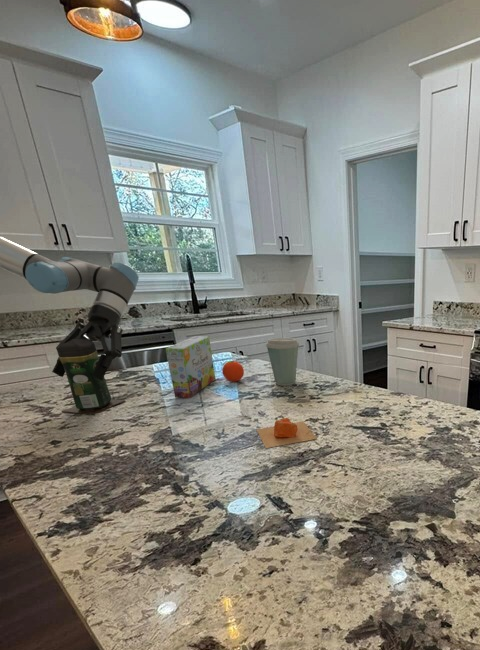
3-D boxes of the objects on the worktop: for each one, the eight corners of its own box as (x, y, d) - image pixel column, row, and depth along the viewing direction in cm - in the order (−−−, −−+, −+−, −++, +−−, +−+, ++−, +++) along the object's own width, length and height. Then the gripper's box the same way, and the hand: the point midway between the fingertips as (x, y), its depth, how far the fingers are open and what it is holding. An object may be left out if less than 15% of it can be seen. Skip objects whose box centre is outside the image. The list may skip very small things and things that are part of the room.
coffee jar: (86, 401, 123) (65, 337, 115) (115, 399, 125) (97, 336, 117) (71, 412, 115) (48, 344, 107) (103, 409, 116) (83, 342, 108)
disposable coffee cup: (274, 378, 146) (269, 335, 139) (305, 378, 145) (301, 335, 139) (266, 387, 136) (260, 341, 130) (299, 387, 136) (295, 341, 129)
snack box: (192, 398, 127) (182, 348, 120) (174, 398, 127) (163, 348, 120) (217, 379, 146) (209, 335, 139) (201, 379, 146) (192, 335, 139)
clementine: (217, 382, 142) (213, 361, 139) (231, 377, 148) (228, 357, 145) (235, 385, 139) (232, 364, 136) (249, 379, 145) (246, 359, 142)
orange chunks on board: (303, 422, 108) (302, 406, 106) (317, 439, 98) (316, 422, 96) (256, 429, 104) (254, 413, 102) (265, 448, 94) (263, 430, 92)
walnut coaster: (61, 412, 116) (61, 410, 116) (98, 399, 126) (98, 397, 126) (90, 415, 114) (90, 413, 113) (125, 401, 124) (125, 400, 124)
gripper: (152, 321, 121) (124, 385, 114) (83, 318, 127) (53, 379, 120) (133, 304, 114) (103, 371, 107) (61, 302, 120) (28, 366, 113)
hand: (77, 376), depth 114 cm, fingers open, 13 cm apart
